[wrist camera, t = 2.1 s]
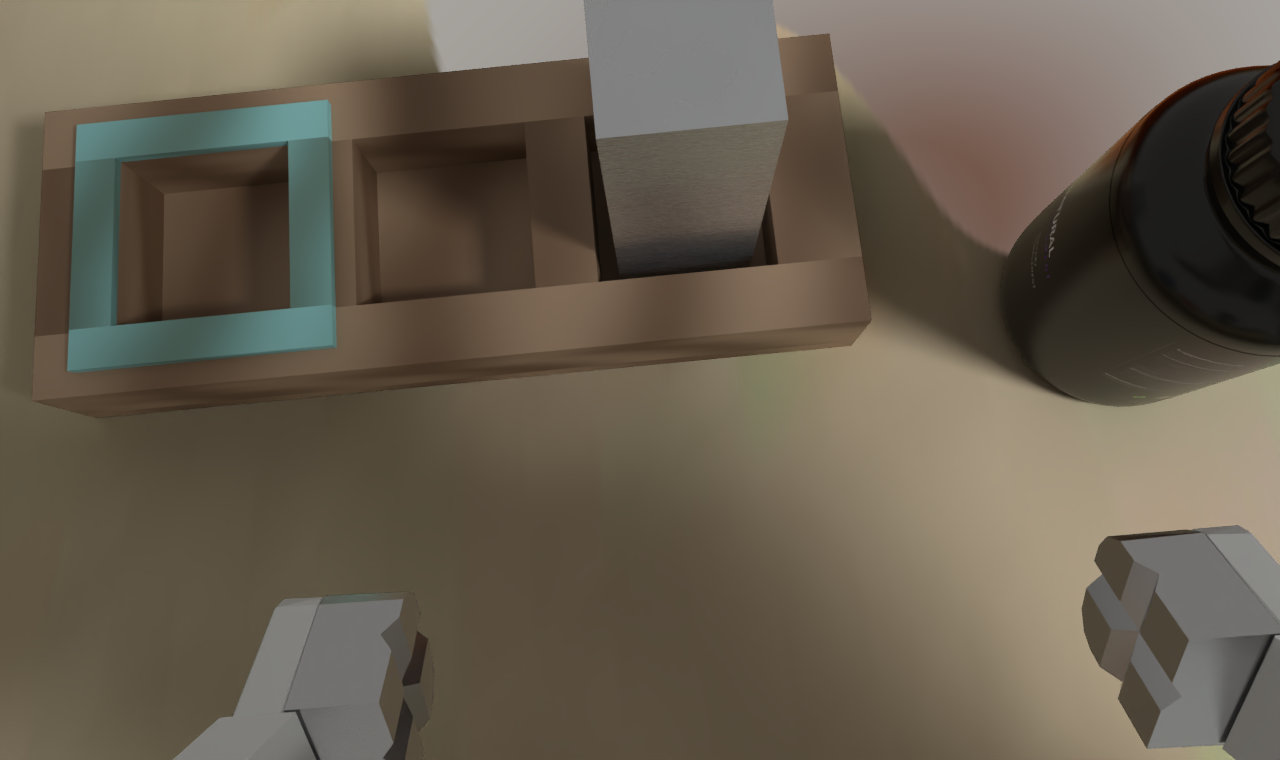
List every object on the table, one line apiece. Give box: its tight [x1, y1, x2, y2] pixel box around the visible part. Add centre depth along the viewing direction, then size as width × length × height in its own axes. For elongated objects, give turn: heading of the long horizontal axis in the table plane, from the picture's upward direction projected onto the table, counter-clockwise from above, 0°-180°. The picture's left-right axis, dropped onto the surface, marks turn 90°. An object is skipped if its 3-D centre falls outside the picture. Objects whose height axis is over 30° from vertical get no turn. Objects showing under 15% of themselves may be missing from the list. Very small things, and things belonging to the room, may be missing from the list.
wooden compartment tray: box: [32, 34, 872, 418], centre depth 28 cm, size 24×9×3 cm, turn 95°
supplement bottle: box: [1001, 61, 1280, 407], centre depth 23 cm, size 7×7×12 cm
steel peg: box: [584, 0, 788, 280], centre depth 24 cm, size 4×4×10 cm
